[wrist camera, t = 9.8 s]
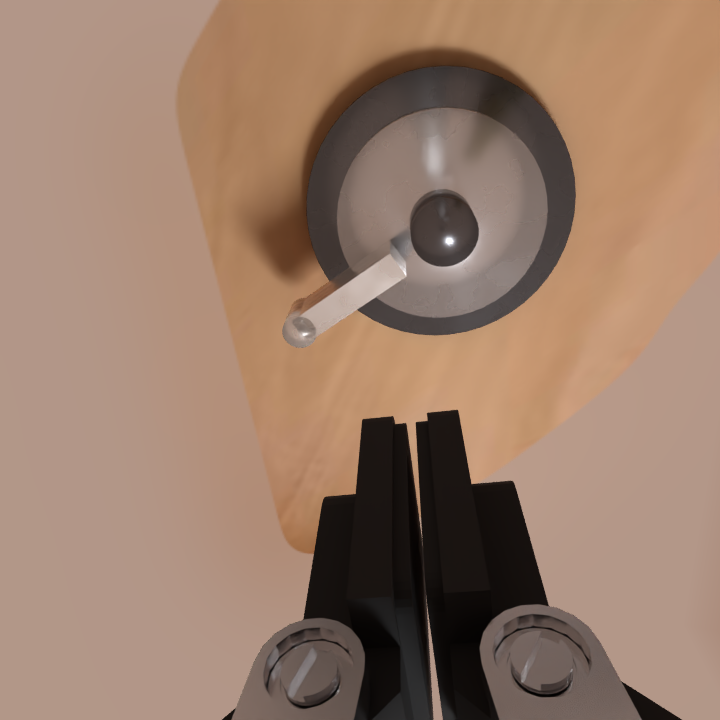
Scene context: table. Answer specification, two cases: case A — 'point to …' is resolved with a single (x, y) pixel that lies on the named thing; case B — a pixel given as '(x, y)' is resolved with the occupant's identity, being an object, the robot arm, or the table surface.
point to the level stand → (437, 91)
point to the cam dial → (431, 221)
